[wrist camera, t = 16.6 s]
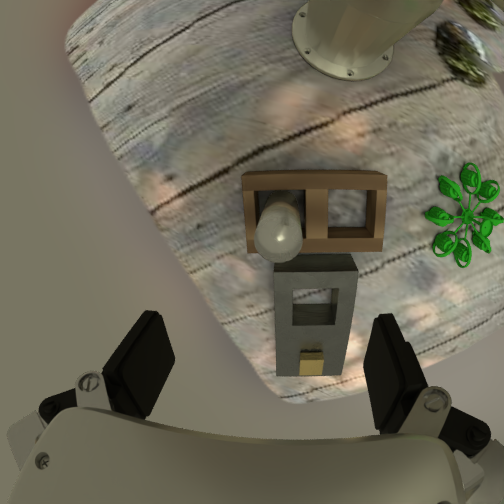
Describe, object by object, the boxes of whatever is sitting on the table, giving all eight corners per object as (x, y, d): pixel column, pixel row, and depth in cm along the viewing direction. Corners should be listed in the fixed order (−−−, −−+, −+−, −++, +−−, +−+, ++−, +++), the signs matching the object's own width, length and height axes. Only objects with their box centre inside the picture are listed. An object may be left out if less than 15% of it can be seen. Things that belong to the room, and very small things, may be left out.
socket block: (275, 254, 36) (273, 272, 31) (350, 253, 34) (358, 271, 30) (278, 354, 43) (276, 376, 38) (337, 353, 41) (341, 375, 37)
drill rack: (246, 171, 32) (241, 175, 28) (376, 171, 30) (387, 175, 26) (252, 241, 36) (247, 253, 32) (372, 239, 33) (381, 251, 30)
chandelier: (400, 212, 31) (422, 230, 25) (462, 139, 26) (492, 143, 19) (449, 278, 34) (470, 301, 28) (503, 213, 28) (529, 228, 22)
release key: (299, 330, 40) (300, 360, 34) (320, 329, 39) (323, 359, 33) (299, 345, 41) (299, 375, 35) (319, 345, 41) (321, 375, 35)
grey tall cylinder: (264, 190, 33) (252, 217, 22) (297, 189, 32) (302, 216, 21) (266, 221, 34) (255, 262, 23) (298, 221, 34) (302, 262, 23)
